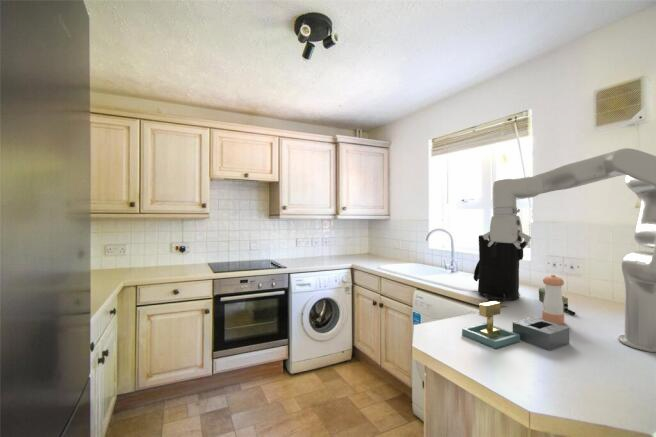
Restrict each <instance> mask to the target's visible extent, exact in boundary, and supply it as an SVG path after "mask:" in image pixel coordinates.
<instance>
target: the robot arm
mask: <svg viewBox="0 0 656 437" xmlns="http://www.w3.org/2000/svg"><path fill="white" fill-rule="evenodd" d="M620 176H625V184H626V186H627V188H628V189H629V190H630V191H632V192H633V193H634V194H635V195H636V196H637V197H638V199H639V201H640V210H639V214H638V215H639V216H638V218H637V223H636V226H635V230H634V240H635V242H636V243H637V244H638V245H640V246H642V247H645V248H649V249H653V251H652V252H651V251H646V250H645V251H643V250H639V251H638V250H637V251H632V252H630V253H628V254H626V255H625V256H624V257H623V259H622V261H621V272H622V275H623V276H622V277H623V281H624V334H621V335H619V336H618V338H617V340H618V341H619V342H620V343H622V344H623V345H626V346H628V347H629V348H634V349H636V350H641V351H644V352H649V353H656V155H654V154H651V153H648V152H646V151H642V150H639V149H636V148H626V147H625V148H620V149H617V150H614V151H609V152H607V153H603V154H600V155H596V156H593V157H590V158H586V159H582V160H579V161H576V162H570V163H568V164H564V165H562V166H559V167H557V168H554V169H551V170H549V171H545V172H542V173H538V174H536V175H532V176H525V177H519V178H500V179H496V180H494V181H493V182H492V212H493V214H492V216H491V219H490V225H489V231H488V232H485V233H484V234H482V235H483V238H484V240H485V242H486V243H487V244H488V247H489V253H490V257H496V256H497V249H496V246H495V245H496V244H497V242H499V243H513V244H514V245H515V246H516V247H517V249H515V255H516V260H519V261H522V260H523V259H524V249H525V248H526V247H527V246H528V244H529V242H530V240H531V239H532V238H531V236H530V235H528V234H526V233H524V232H523V226H522V221H521V218H520V215H518V213H521V209H520V208H518V207H517V199H518V200H519V199H520V200H523V199H530V198H535V197H537V196H539V195H542V194H546V193H551V192H555V191H565V190H569V189H574V188H577V187H582V186H585V185H589V184H592V183H597V182H600V181H605V180H608V179H613V178H616V177H620ZM489 236H490V239H489Z"/></svg>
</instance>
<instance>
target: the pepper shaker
mask: <svg viewBox="0 0 656 437" xmlns="http://www.w3.org/2000/svg"><path fill="white" fill-rule="evenodd" d="M542 282H543V284H544V289H545V297H544V302H542V303H543V308H542V312H541V314H542V315H541V317H542V319H541V320H544V321H547V322H551V323H554V324H558V325H563V324H565V314H564V312H563V302H562V296H563V295H562V286H564V284H565V282H564V279H563V278H560V277H558V276H556V275H555V274H550V275H549V276H545V277H544V278H543V279H542Z"/></svg>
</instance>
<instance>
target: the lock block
mask: <svg viewBox="0 0 656 437" xmlns="http://www.w3.org/2000/svg"><path fill="white" fill-rule="evenodd" d="M512 332H513V333H516V334H519V335H520V342H521V341H522V342H523V343H527V344H529V345H532V346H534V347H537V348H540V349H543V350H546V351H548V350H549V351H548V352H550V351H554V350H556V349H559V348H562V347H564V346H568V345H570V327H569V326H565V325H562V324H554V323H551V322H547V321H544V320H543V319H540V318H536V317H534V316H533V317H528V318H524V319H521V320H515V321H512ZM553 349H554V350H553Z"/></svg>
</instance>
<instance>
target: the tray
mask: <svg viewBox="0 0 656 437" xmlns="http://www.w3.org/2000/svg"><path fill="white" fill-rule="evenodd" d="M493 328H496V329H499V337H495V338H492V339H491V338H488V337H486V336H483V335H480V331H481V330H485V329H487V322H484V323H480V324H476V325H475V324H474V325H471V326H468V327H463V328H462V329H461V335H462V336H463V337H465V338H468V339H470V340H473V341H474V340H475V342H477V343H479V342H480V343H479V344H483V345H484V346H487V347H489V348H491V349H494V350H498V349H501V348H505V347H509V346H512V345H514V344H518V343H520V342H521V340H520V335H519V334H516V333H513V331H510V330H507V329H505V328H501V327H499V326H496V325H493Z"/></svg>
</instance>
